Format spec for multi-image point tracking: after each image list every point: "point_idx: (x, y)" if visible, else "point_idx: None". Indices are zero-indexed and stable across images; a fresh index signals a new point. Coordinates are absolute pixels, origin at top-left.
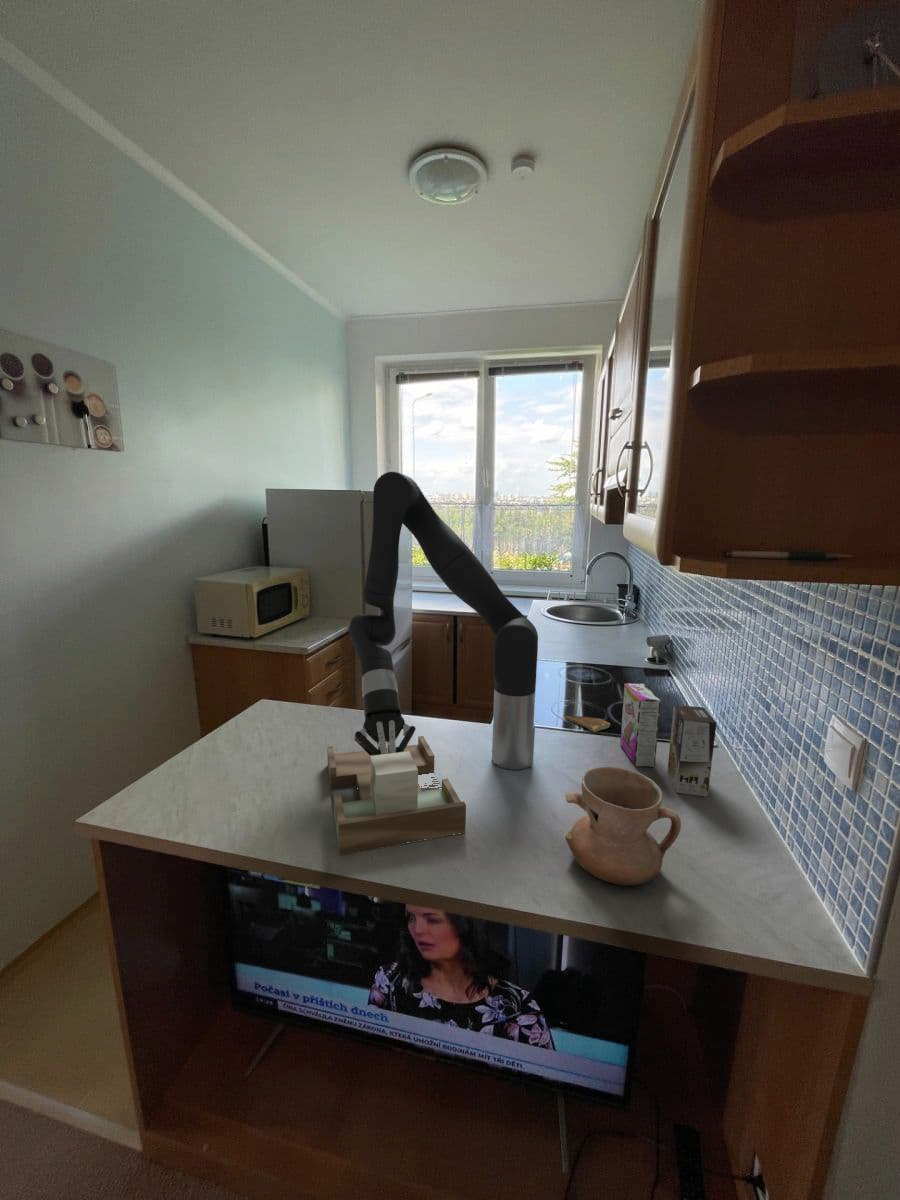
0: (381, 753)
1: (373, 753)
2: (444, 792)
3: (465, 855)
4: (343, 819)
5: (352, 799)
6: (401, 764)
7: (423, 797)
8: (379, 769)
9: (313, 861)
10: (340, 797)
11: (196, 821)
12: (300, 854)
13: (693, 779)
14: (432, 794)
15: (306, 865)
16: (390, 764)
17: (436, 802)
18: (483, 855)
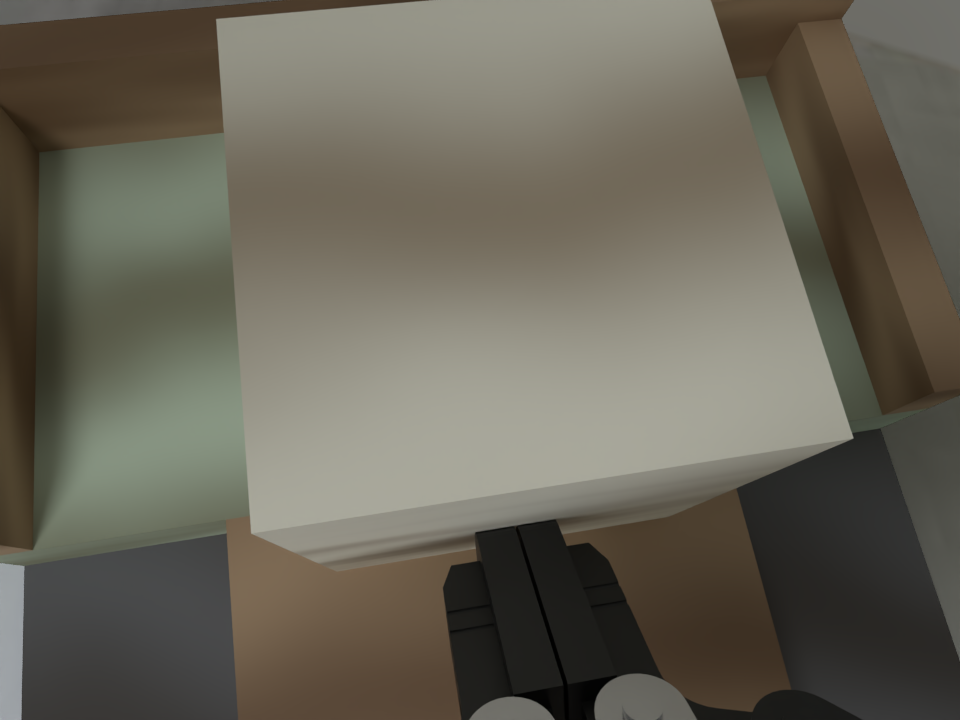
0: (684, 701)
1: (807, 695)
2: (27, 458)
3: (104, 14)
4: (825, 74)
5: (793, 613)
6: (407, 160)
7: (228, 427)
8: (681, 80)
9: (874, 72)
10: (918, 332)
11: None
12: (955, 125)
13: None
14: (141, 464)
15: (898, 52)
16: (551, 174)
17: (137, 345)
18: (7, 2)
